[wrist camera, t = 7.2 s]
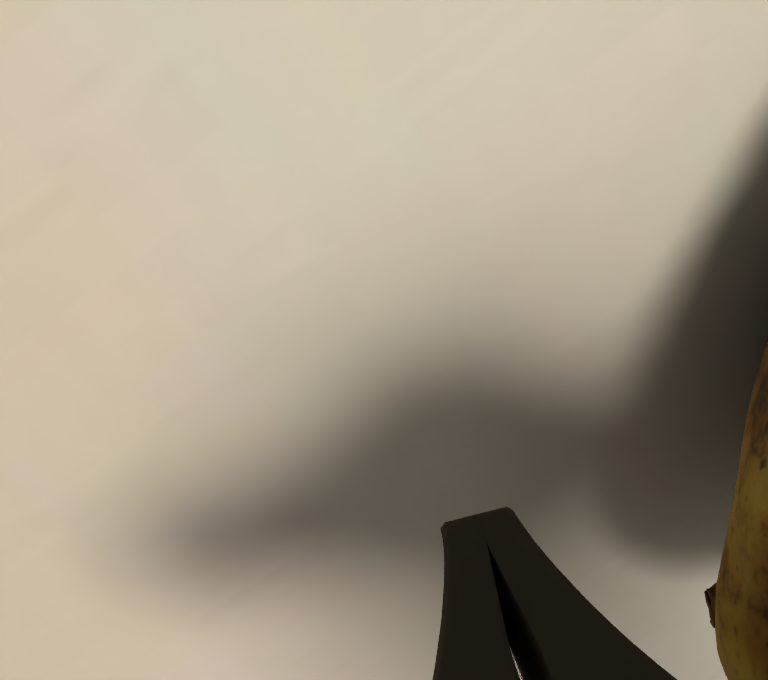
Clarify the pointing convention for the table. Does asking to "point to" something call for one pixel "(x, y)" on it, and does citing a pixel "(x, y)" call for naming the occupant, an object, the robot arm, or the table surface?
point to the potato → (746, 552)
